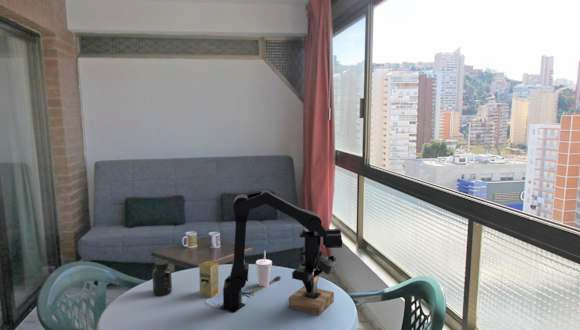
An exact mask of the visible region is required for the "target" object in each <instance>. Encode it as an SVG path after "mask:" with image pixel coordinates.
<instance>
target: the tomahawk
mask: <svg viewBox="0 0 580 330" xmlns="http://www.w3.org/2000/svg"><path fill="white" fill-rule="evenodd" d="M281 278H282V277H281V276H280V275H277V276H275V277H274V278H273V279H272V280H269V285H272V284H275V283H277V281H278V280H281ZM263 288H265V287H264V286H259V285H258V286H257V287H256V288H254V289H252V290H250V291H249V292H245V291H242V296H245V297H246V298H250V299H251V296H252V297H254V296H255V295H254V293H256V292H257V291H259V290H262V289H263Z"/></svg>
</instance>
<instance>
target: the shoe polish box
mask: <svg viewBox="0 0 580 330" xmlns="http://www.w3.org/2000/svg"><path fill="white" fill-rule="evenodd" d="M198 269H199V271H198V273H199V276H198V277H199V296H201V297H203V298H204V297H206V298H210V299H211V298H213V297H214V296H216V295H218V293H219V262H218V261H213V260H205V261H203V262H202V263H199V265H198Z"/></svg>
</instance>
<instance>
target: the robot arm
mask: <svg viewBox="0 0 580 330" xmlns="http://www.w3.org/2000/svg"><path fill="white" fill-rule="evenodd" d="M264 205H268V206H270V207H272V208H273V209H275V210H277V211H280V212H281V213H283V214H285V215H287V216H289V217H291V218H292V219H294V220H295V221H296V222H298V223H299V224H300V225H301V226H302V227H303V228H302V230H301V231H299V232H298V236H299V238H303V250H302V251H301V255H303V261H302V262H301V267H298V268H296V269H294V270H293V271H292V272H291V278H292V279H293V280H297V281H301V282H302V284H303V286H305V288H306V290H307V292H308V293H311V289H312V282H313V279H314V278H315V277H316V276H315V275H318V280H317V282H318V281H319V278H320V275H321V274H322V273H324V274H326V275H330V274H331V273H332V272H333V271H334V270H335V267H336V266H337V258H336V256H335V255H334V254H332V255H330V256H325V255H324V252H323V250H321V246H324V249H342V247H343V237H342V231H341V230H342V229H340V228H330V229H329V228H327V229H326V228H325V226H324V225H322V224H323V223H322V219H321V218H320V216H319V215H318V213H316V212H315V211H312V210H308V209H304V208H301V207H298V206H297V205H294V204H292V203H290V202H288V201H287V200H285V199H283V198H281V197H279V196H278V195H276V194H274V193H272V192H271V191H269V190H267V189H265V190H262V191H258V192H253V193H248V194H245V193H241V194H237V196H235V197H234V200H233V215H234V220H235V229H234V230H235V233H234V249H233V261H232V264H231V269H230V273H229V275H228V276H227V277H226V278H225V279H224V283H223V288H222V296H223V297H222V299H223V303H222V305H220V306H219V309H220V310H221V309H222V310H224V311H227V312H231V313H236V312H238V311H239V310H240V309H242V308H243V307H244V306H246V304H245V303H244V302H242V301H243V299H242V297H243V295H242V292H243V291H242V289H243V288H244V287H245V286H246V284H247V282H249V263H246V262H245V261H246V260H245V250H246V248H245V247H246V232H247V222H248V219H249V214H250V210H253V209H254V210H255V209H256V208H258V207H261V206H264ZM304 228H305V229H307V230H305V229H304Z"/></svg>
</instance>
